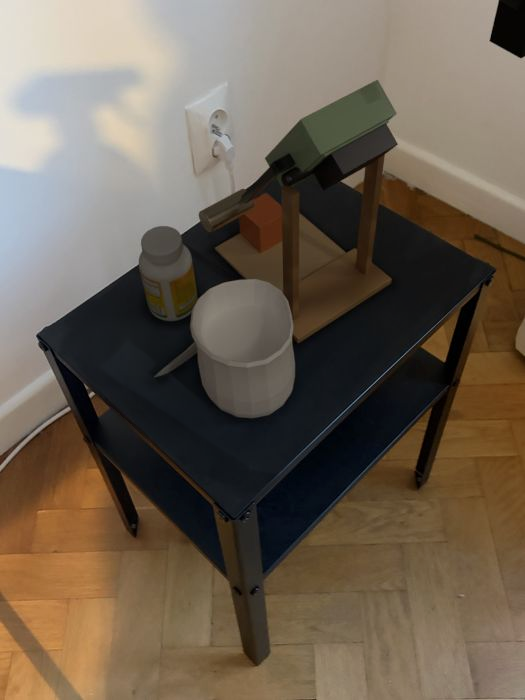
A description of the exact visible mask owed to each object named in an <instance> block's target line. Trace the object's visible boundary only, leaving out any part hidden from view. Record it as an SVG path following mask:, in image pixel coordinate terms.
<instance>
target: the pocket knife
mask: <svg viewBox="0 0 525 700" xmlns="http://www.w3.org/2000/svg"><path fill="white" fill-rule="evenodd" d="M196 354H198V353H197V346H196V343H195V341H193V342H192V344H191V345H190V346H189V347H187V349H186V350H184V351H183V352H182V353H180V354H179V355H178V356H177V357H175V358H174V359H173V360H171V361H170V362H169V363H168V364H167V365H166V366H164V367H163V368H162V369H161V370H160V371H159V372H157V374H156V375H154V376H153V378H157V377H162V376H164V375H166V374H168V373H170V372H172V371H174V370H175V369H177V368H178V367H179V366H181V365H182V364H184V363H185V362H187V361H188V360H189V359H191V358H192V357H193V356H196Z"/></svg>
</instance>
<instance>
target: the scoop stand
mask: <svg viewBox="0 0 525 700" xmlns="http://www.w3.org/2000/svg"><path fill="white" fill-rule="evenodd" d="M385 157H386V154H385V155H383V156H382V157H381V158H379V159H378V160H377V161H375V162H373V163H372V164H370V165H368V166H366V167H365V168H364V176H363V188H362V195H361V196H362V197H361V207H360V208H361V209H360V218H359V219H360V220H359V227H358V236H357V237H358V238H357V248H356V247H354V248H352V249H350V250H349V251H347V252H346V254H344V255H342V256H341V257H339V258H337V259H336V260H334V261H333V262H331V263H329V264H328V265H326V266H324V267H323V268H321V269H319V270H318V271H316V272H315V273H313V274H311V275H310V276H308V277H306V278H305V279H303V280H301V281H300V282H299V213H300V192H299V191H298V190H296V188H295V187H294V186H293V187H291V186H289V187H288V186H283V187H281V186H280V192H281V193H280V194H281V195H280V196H281V197H280V201H281V206H282V251H283V292H282V293H283V294H284V296H285V297H286V299H287V300H288V303H289V307H290V310H291V314H292V320H293V334H292V340H294V341H295V342H296V343H297V344H299V343H302V342H303V341H304V340H306V339H308V338H310V337H311V336H312V335H314V334H315V333H317V332H318V331H320V330H322V329H323V328H324V327H326V326H327V325H329V324H331V323H333V322H334V321H335V320H337V319H338V318H340V317H341V316H343V315H345V314H347V313H348V312H349V311H350V310H352V309H354V308H355V307H357V306H358V305H361V304H362V303H364V302H365V301H366V300H369V298H371V297H372V296H374V295H376V294H377V293H379V292H380V291H381V290H383V289H385V288H386V287H388V286H390V285H391V284H392V279H393V278H392V277H390V276H389V275H388V274H387V273H385V271H383V270H382V269H381V268H380V267H378V266H377V264H375V263H374V262H372V261H373V255H374V245H375V238H376V231H377V220H378V214H379V213H378V212H379V207H380V198H381V197H380V196H381V189H382V180H383V173H384V164H385Z"/></svg>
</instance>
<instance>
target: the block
mask: <svg viewBox="0 0 525 700" xmlns="http://www.w3.org/2000/svg"><path fill="white" fill-rule="evenodd" d="M253 202H254V208H253V210H251V211H249V212H247V213H245V214H244V215H242V216H240V217H238V225H239V234H241V235H242V236H243V237H244V238H245V239H246V240H247V241H248V242H249V243H250V244H251V245H253V246H254V247H255V248H256V249H257V250H258V251H259V252H260V253H262V252H264V251H266V250H268V249H269V248H271V247H273V246H274V245H276V244H278V243H280V242H281V241H282V204H280V203H279V202H278V201H276V200H275V198H273V197H272V196H271V195H270V194H269V193H267V192H264V193H263V194H261V195H260V196H258V197H255V198H253Z"/></svg>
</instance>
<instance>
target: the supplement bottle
mask: <svg viewBox="0 0 525 700" xmlns="http://www.w3.org/2000/svg"><path fill="white" fill-rule="evenodd" d="M182 238H183V237H182V235H181V233H180V232H179V230H177V229H176V228H174V227H172V226H169V225H168V226H167V225H159V226H154V227H152V228H150V229H148V230H147V231H146V232H144V234H143V235H142V237H141V239H140V247H141V252H140V254H139V257H138V269H139V273H140V277H141V282H142V285H143V289H144V294H145V298H146V303H147V306H148V309H149V311H150V312H151V314H152V315H153V316H154V317H155V318H157V319H159V320H161V321H164V322H176V321H180V320H183V319H186V317H189V316H191V315H192V309H193V307H194V305H195V304H196V302H197V300H198V299H199V297H198V290H197V283H196V277H195V271H194V264H193V258H192V254H191V251H190V250H189V248H188V247H187V246H186V245H185V244H184V242H183V239H182Z"/></svg>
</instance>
